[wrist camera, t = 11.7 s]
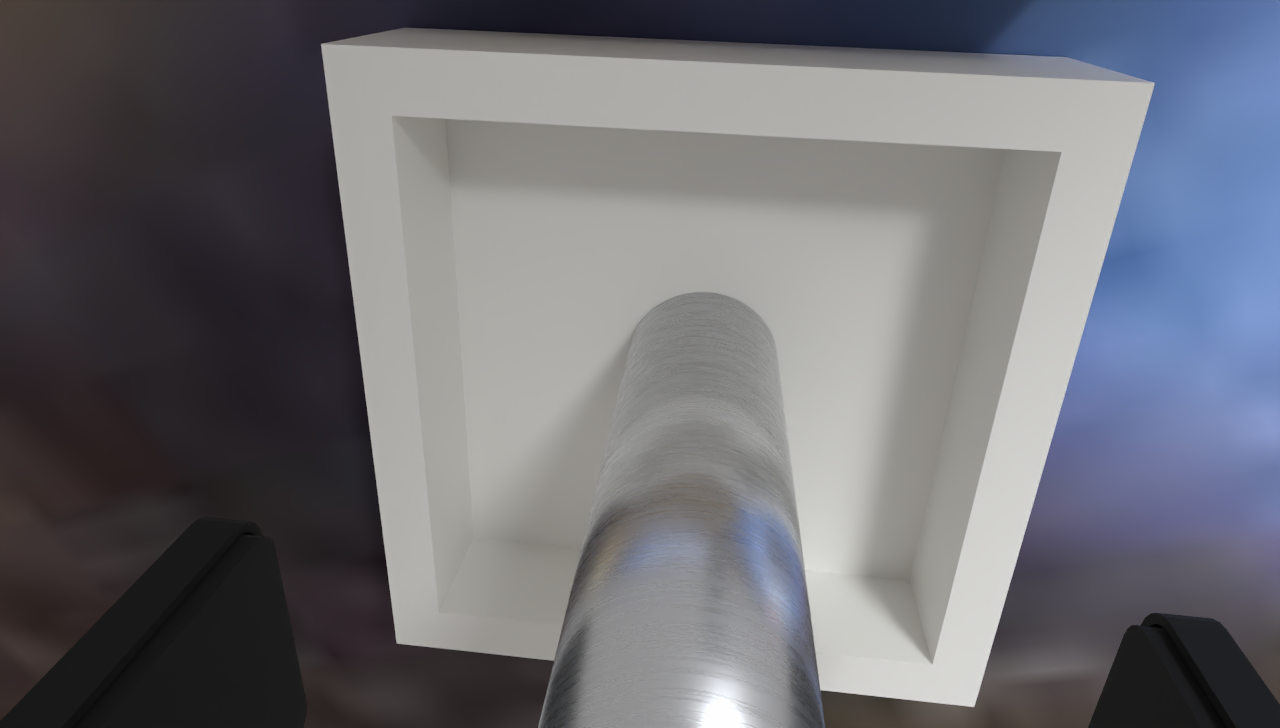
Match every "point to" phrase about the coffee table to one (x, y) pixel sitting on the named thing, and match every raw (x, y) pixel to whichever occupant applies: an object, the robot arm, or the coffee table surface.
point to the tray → (736, 267)
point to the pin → (691, 542)
